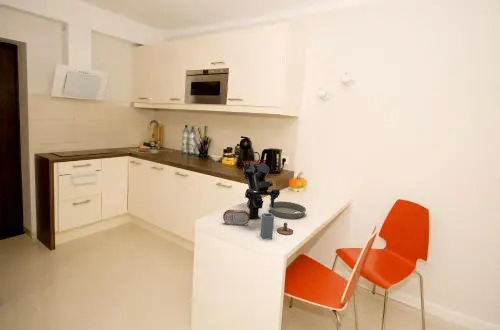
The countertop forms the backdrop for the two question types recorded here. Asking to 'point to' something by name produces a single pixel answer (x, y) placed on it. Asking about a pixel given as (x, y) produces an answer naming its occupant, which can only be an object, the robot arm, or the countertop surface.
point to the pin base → (284, 230)
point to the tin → (236, 217)
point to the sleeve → (267, 225)
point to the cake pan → (287, 210)
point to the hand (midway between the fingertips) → (264, 207)
